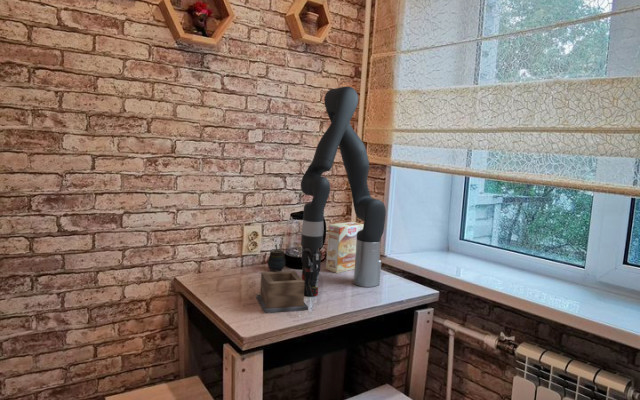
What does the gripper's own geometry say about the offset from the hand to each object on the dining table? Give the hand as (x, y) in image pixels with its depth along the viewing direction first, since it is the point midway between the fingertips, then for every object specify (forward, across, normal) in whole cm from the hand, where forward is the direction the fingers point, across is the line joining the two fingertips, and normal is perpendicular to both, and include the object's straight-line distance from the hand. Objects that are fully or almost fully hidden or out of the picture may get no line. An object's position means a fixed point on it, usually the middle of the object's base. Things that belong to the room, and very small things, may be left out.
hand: (309, 278), depth 152 cm
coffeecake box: (+6, +27, -24) cm, 37 cm away
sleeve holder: (+6, -7, +12) cm, 15 cm away
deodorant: (+6, 0, 0) cm, 6 cm away
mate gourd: (+6, +30, +5) cm, 31 cm away
